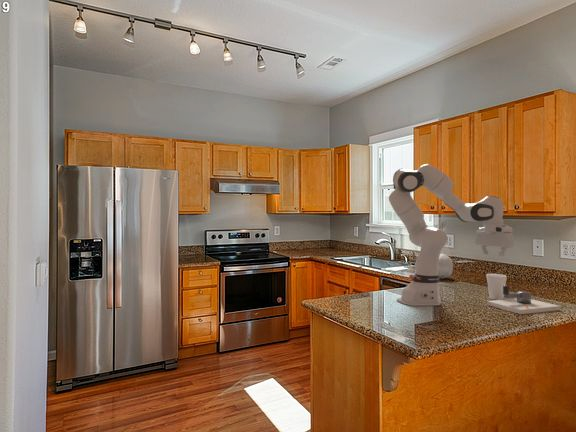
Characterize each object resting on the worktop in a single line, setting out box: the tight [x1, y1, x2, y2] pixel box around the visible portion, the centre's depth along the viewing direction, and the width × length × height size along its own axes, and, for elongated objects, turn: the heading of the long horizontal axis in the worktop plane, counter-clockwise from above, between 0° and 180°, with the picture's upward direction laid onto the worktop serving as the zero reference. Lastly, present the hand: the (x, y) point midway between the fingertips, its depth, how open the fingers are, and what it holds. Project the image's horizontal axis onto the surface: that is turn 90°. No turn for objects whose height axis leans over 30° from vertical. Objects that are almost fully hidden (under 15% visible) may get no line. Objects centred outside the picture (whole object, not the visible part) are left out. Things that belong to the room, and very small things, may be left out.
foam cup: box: [486, 273, 508, 301], centre depth 198 cm, size 10×9×13 cm
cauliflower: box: [414, 253, 454, 280], centre depth 265 cm, size 20×25×22 cm
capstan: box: [503, 284, 532, 304], centre depth 180 cm, size 16×6×9 cm, turn 109°
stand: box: [486, 298, 561, 315], centre depth 180 cm, size 26×18×2 cm
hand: (493, 255), depth 186 cm, fingers open, 8 cm apart
